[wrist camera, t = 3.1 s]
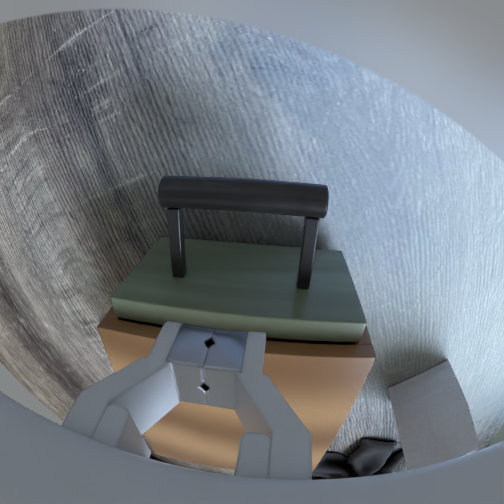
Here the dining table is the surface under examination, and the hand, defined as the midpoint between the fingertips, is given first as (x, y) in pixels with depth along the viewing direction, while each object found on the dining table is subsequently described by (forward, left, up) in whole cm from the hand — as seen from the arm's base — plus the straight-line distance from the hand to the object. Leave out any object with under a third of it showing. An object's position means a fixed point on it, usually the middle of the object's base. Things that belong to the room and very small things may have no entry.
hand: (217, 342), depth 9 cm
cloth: (+37, +18, -11) cm, 42 cm away
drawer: (+5, 0, -10) cm, 11 cm away
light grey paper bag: (+16, +18, -11) cm, 26 cm away
